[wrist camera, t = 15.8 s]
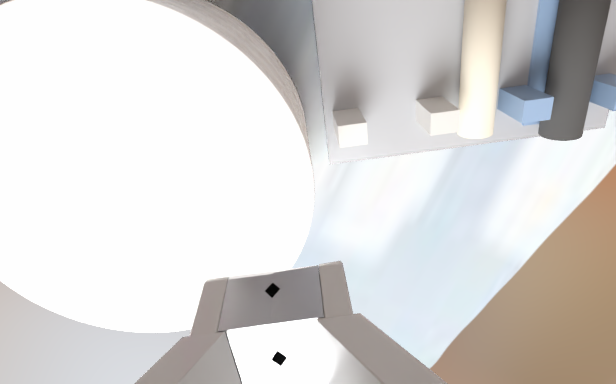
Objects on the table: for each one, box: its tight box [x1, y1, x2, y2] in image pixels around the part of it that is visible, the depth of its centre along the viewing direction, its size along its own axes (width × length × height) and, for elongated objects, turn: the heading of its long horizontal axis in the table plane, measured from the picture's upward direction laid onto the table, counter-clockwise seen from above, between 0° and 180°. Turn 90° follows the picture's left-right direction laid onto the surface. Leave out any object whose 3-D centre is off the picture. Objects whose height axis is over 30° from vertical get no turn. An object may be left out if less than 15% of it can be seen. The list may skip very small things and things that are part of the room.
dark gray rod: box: [538, 0, 611, 141], centre depth 34 cm, size 16×4×4 cm, turn 7°
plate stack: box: [0, 0, 314, 333], centre depth 35 cm, size 28×28×12 cm
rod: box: [457, 0, 507, 139], centre depth 35 cm, size 14×3×3 cm, turn 7°
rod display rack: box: [312, 0, 616, 164], centre depth 34 cm, size 18×28×6 cm, turn 97°
